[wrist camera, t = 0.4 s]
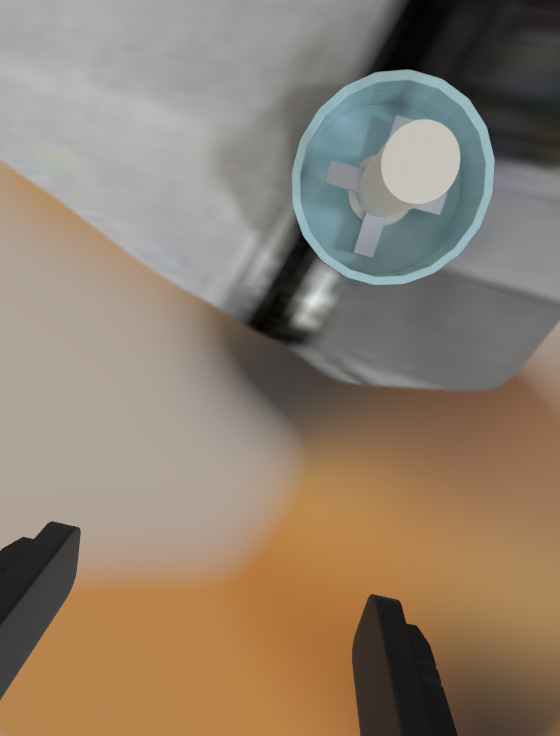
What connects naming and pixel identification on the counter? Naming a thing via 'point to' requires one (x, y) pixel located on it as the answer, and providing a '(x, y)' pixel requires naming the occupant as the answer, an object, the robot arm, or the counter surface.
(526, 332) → the counter surface
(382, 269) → the processor bowl
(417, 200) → the blade
